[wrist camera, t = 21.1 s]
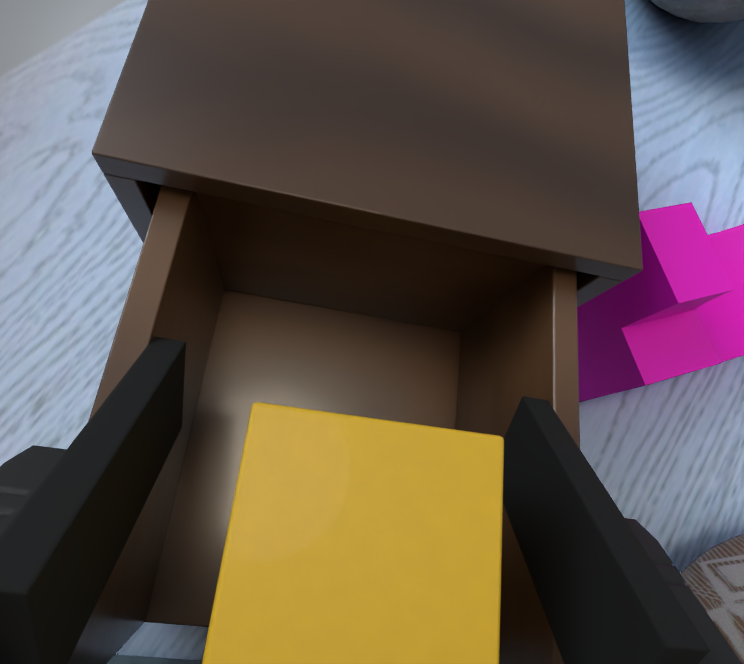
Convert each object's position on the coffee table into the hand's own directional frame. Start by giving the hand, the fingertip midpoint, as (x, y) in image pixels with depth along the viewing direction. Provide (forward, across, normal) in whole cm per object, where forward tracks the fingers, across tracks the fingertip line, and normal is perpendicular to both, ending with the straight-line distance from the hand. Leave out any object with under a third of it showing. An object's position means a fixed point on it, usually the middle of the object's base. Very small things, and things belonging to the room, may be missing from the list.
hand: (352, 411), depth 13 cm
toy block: (+12, +18, 0) cm, 22 cm away
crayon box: (+2, 0, -7) cm, 7 cm away
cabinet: (+15, 0, +3) cm, 15 cm away
